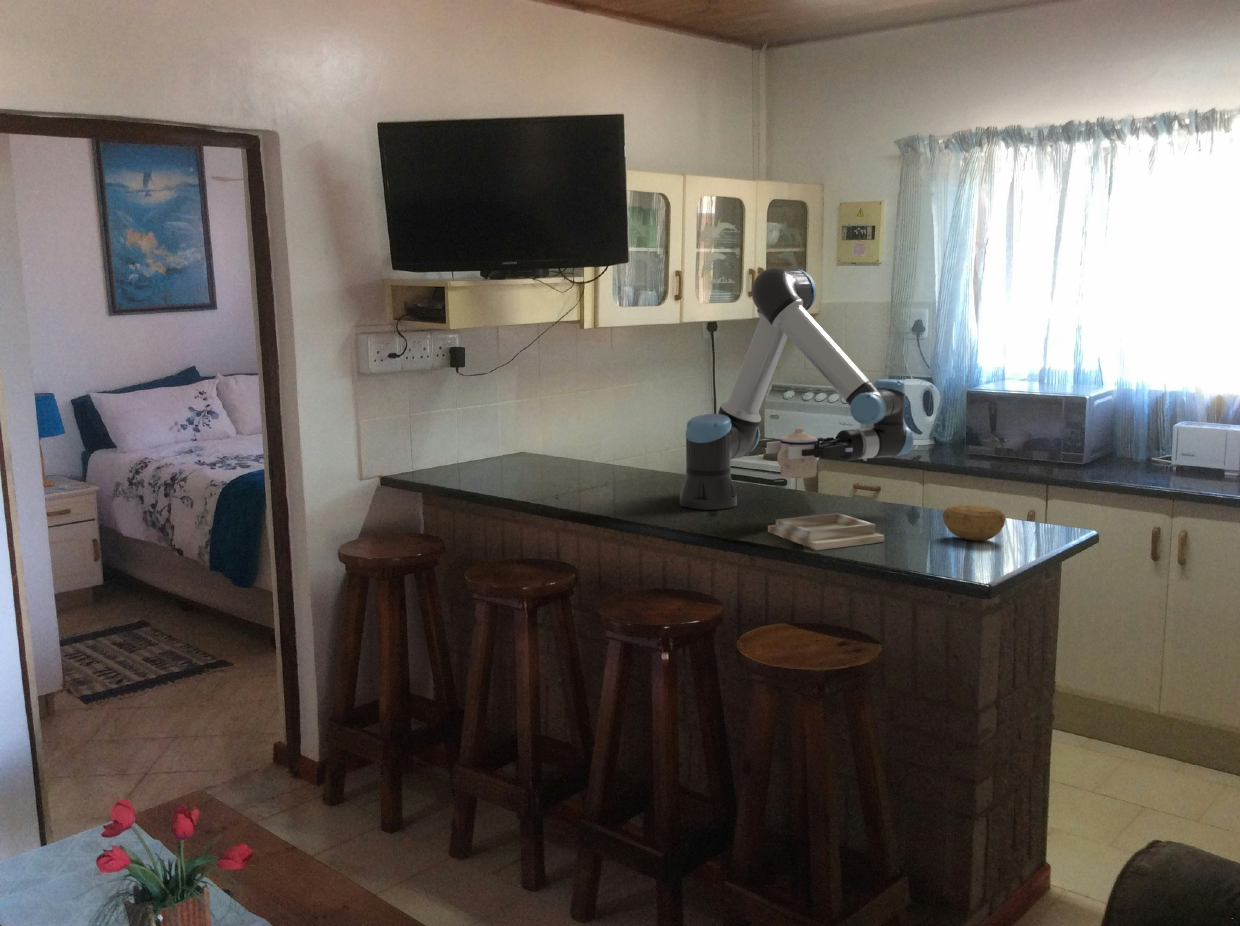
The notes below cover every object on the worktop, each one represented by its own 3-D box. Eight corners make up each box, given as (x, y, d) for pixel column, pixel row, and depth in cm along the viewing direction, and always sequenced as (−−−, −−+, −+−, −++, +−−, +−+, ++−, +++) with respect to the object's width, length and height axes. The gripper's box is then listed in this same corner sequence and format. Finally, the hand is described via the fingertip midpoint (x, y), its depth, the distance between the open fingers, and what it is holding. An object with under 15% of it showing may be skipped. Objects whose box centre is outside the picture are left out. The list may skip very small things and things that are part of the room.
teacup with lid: (795, 471, 269) (796, 424, 267) (825, 475, 262) (826, 427, 260) (763, 476, 261) (764, 429, 259) (793, 481, 254) (794, 432, 253)
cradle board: (768, 531, 254) (768, 517, 253) (832, 524, 261) (832, 510, 260) (816, 550, 236) (816, 534, 235) (883, 541, 243) (884, 526, 242)
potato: (954, 531, 252) (955, 498, 251) (1011, 541, 242) (1013, 506, 241) (932, 538, 246) (934, 504, 244) (991, 548, 236) (993, 512, 234)
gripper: (882, 465, 259) (802, 472, 250) (830, 453, 279) (754, 459, 270) (883, 434, 258) (803, 440, 249) (830, 424, 277) (754, 430, 268)
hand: (778, 450), depth 259 cm, fingers closed on teacup with lid, 9 cm apart
